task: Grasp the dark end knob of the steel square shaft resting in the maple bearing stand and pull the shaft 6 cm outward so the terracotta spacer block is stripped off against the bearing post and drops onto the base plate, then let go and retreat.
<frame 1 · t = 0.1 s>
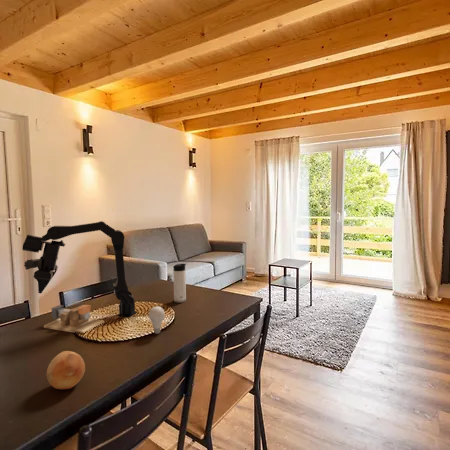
hand: (42, 290, 132), 15 cm above the table, tool pointing down, fingers open, 9 cm apart
travel mug: (180, 301, 164), on the table
lightbulb: (157, 334, 123), on the table
onion: (66, 387, 88), on the table
spacer: (84, 312, 131), point 6 cm above the table, touching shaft
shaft: (71, 313, 133), point 5 cm above the table, slide at 0.0 cm, touching spacer
bearing stand: (76, 325, 133), on the table
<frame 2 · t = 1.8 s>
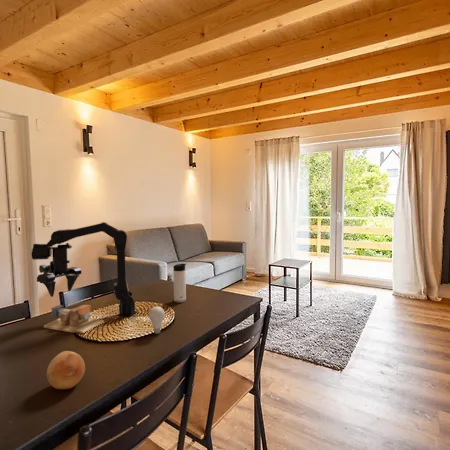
hand: (60, 293, 136), 13 cm above the table, tool pointing down, fingers open, 9 cm apart
nothing on the table moved.
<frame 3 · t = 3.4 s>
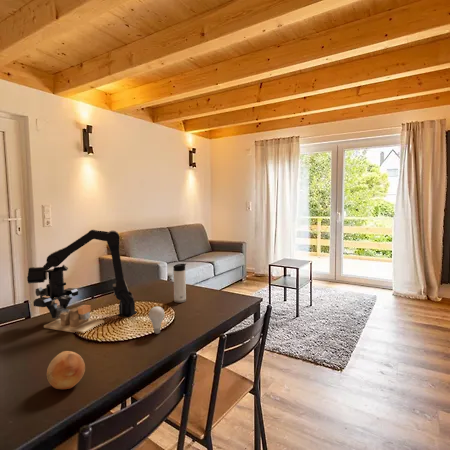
hand: (58, 316, 135), 3 cm above the table, tool pointing down, fingers closed on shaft, 4 cm apart
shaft: (71, 313, 133), point 5 cm above the table, slide at 0.0 cm, touching gripper, spacer
everything else where it was.
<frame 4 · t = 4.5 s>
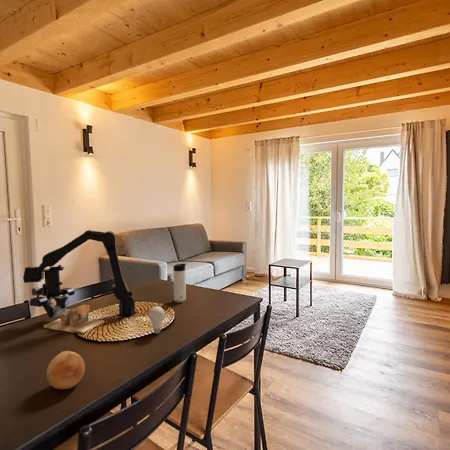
hand: (54, 315, 136), 3 cm above the table, tool pointing down, fingers closed on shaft, 4 cm apart
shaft: (68, 313, 133), point 5 cm above the table, slide at 1.7 cm, touching gripper, spacer
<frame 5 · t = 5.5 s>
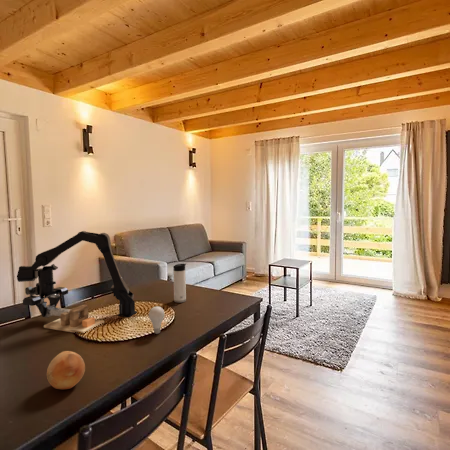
hand: (47, 314, 137), 3 cm above the table, tool pointing down, fingers closed on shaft, 4 cm apart
spacer: (86, 321, 131), point 2 cm above the table, tilted 90°, touching bearing stand
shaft: (62, 312, 135), point 5 cm above the table, slide at 5.0 cm, touching gripper
everything else where it was.
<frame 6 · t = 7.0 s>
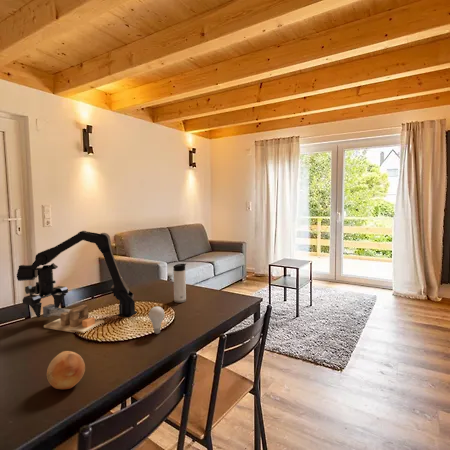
hand: (47, 313, 137), 3 cm above the table, tool pointing down, fingers open, 9 cm apart
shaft: (62, 312, 135), point 5 cm above the table, slide at 5.0 cm
everything else where it was.
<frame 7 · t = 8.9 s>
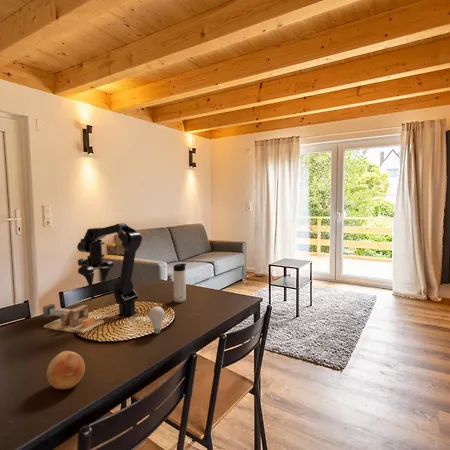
hand: (97, 284, 154), 12 cm above the table, tool pointing down, fingers open, 9 cm apart
nothing on the table moved.
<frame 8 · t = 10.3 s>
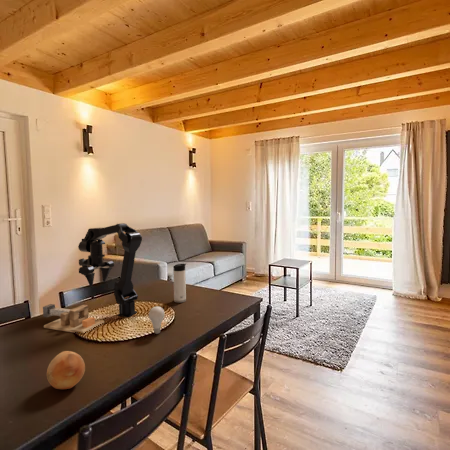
hand: (97, 283, 155), 12 cm above the table, tool pointing down, fingers open, 9 cm apart
nothing on the table moved.
at the end: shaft slide at 5.0 cm; spacer inside the target area (6.1 cm from its centre), point 2.2 cm above the table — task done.
